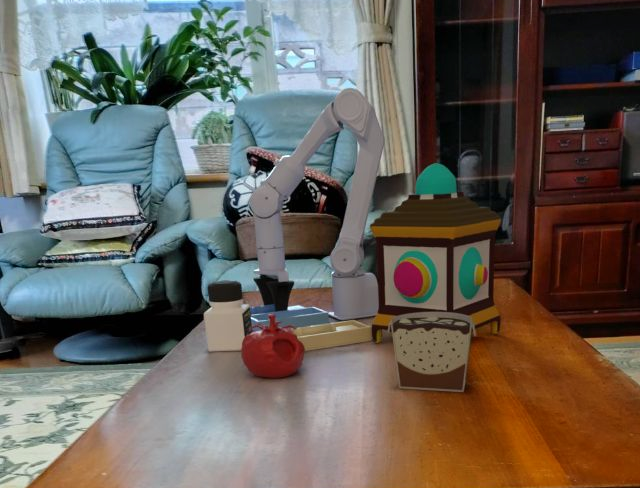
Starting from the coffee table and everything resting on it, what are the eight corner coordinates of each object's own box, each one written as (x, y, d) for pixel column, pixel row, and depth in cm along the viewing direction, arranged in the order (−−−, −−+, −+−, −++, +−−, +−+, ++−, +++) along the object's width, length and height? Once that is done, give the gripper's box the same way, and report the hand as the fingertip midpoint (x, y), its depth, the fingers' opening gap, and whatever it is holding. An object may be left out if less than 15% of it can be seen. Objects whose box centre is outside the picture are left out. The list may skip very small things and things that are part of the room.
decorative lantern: (456, 357, 112) (458, 161, 101) (360, 344, 123) (352, 167, 113) (510, 332, 127) (516, 159, 116) (420, 323, 138) (418, 164, 127)
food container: (482, 380, 99) (483, 312, 96) (474, 392, 94) (475, 321, 90) (400, 375, 103) (399, 310, 100) (389, 387, 98) (387, 318, 94)
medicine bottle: (247, 350, 123) (239, 283, 118) (207, 352, 123) (199, 285, 119) (253, 341, 129) (247, 277, 125) (216, 342, 129) (208, 279, 125)
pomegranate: (232, 380, 105) (225, 320, 102) (262, 363, 114) (256, 308, 110) (289, 384, 102) (284, 322, 98) (316, 366, 110) (312, 309, 107)
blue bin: (314, 318, 147) (314, 306, 146) (328, 324, 140) (328, 312, 140) (247, 328, 141) (245, 315, 140) (258, 334, 135) (257, 321, 134)
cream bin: (354, 333, 132) (353, 319, 131) (372, 340, 126) (371, 326, 125) (280, 344, 126) (279, 330, 125) (295, 352, 120) (294, 338, 119)
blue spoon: (300, 313, 154) (298, 299, 153) (305, 315, 151) (304, 301, 149) (247, 320, 149) (246, 306, 148) (252, 322, 146) (251, 308, 145)
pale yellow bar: (352, 334, 130) (351, 318, 129) (360, 337, 127) (359, 321, 126) (292, 343, 125) (290, 326, 124) (299, 347, 122) (297, 330, 121)
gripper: (242, 246, 149) (248, 308, 154) (263, 251, 137) (269, 319, 141) (272, 243, 152) (278, 304, 156) (295, 248, 139) (300, 314, 144)
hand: (275, 311), depth 149 cm, fingers open, 7 cm apart
